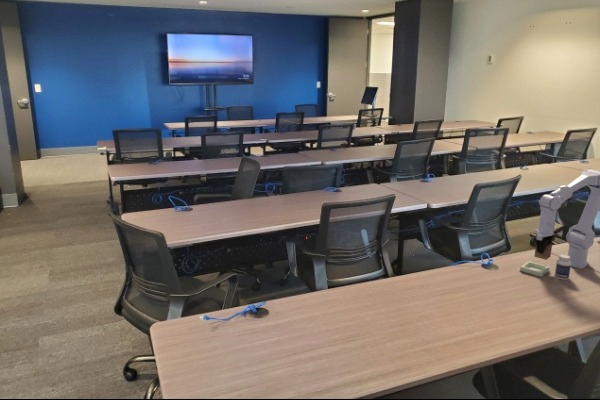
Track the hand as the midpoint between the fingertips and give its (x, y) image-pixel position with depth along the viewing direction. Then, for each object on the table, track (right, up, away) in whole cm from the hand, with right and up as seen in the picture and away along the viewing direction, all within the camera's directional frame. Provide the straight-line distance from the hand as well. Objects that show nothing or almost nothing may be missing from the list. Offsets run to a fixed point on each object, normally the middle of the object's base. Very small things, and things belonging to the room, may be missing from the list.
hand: (542, 251), depth 200 cm
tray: (-3, -9, +1) cm, 10 cm away
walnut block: (0, -2, +1) cm, 3 cm away
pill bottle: (+6, -11, -5) cm, 13 cm away
